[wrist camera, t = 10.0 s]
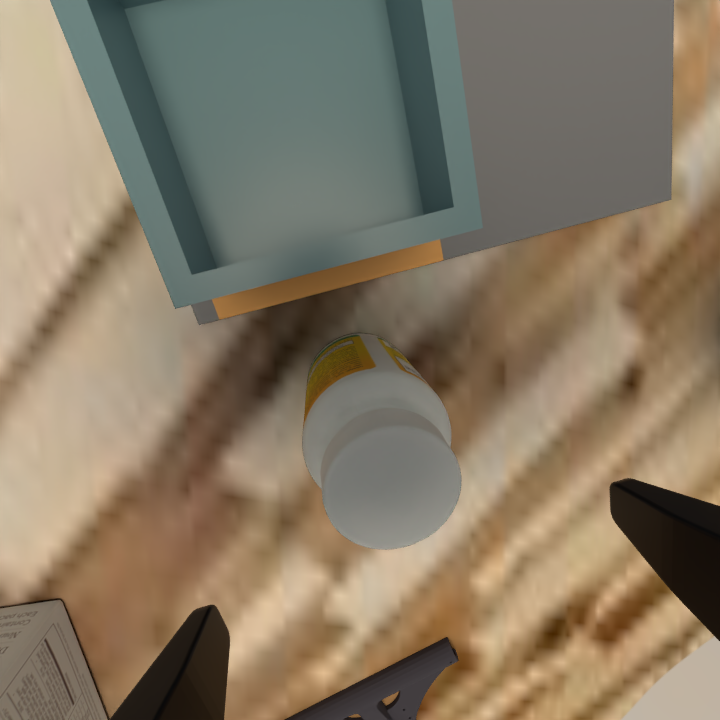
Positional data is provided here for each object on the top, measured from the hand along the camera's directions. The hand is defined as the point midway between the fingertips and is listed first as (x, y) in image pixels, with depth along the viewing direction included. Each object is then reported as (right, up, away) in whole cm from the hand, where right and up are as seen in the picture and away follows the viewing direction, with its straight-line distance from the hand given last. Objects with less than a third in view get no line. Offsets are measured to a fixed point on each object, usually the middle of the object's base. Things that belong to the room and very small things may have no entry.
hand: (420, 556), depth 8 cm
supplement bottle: (-1, +3, +11) cm, 12 cm away
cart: (-4, +13, +8) cm, 16 cm away
